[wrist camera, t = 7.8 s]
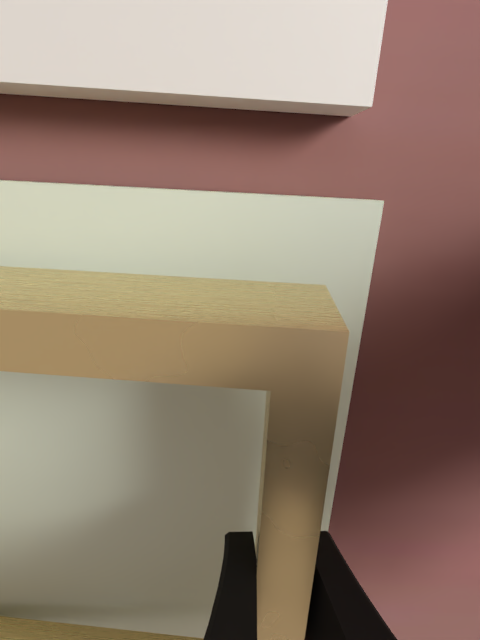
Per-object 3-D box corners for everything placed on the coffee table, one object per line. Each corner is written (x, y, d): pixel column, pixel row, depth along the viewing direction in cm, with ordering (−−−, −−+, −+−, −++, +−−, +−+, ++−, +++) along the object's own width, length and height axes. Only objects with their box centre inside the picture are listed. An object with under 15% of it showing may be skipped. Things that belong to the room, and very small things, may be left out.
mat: (375, 199, 11) (383, 201, 10) (304, 633, 17) (308, 649, 16) (-333, 162, 10) (-366, 161, 9) (-134, 640, 16) (-147, 657, 15)
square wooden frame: (325, 284, 9) (349, 331, 6) (279, 669, 14) (282, 791, 11) (-237, 252, 10) (-435, 281, 7) (-96, 626, 15) (-182, 731, 12)
